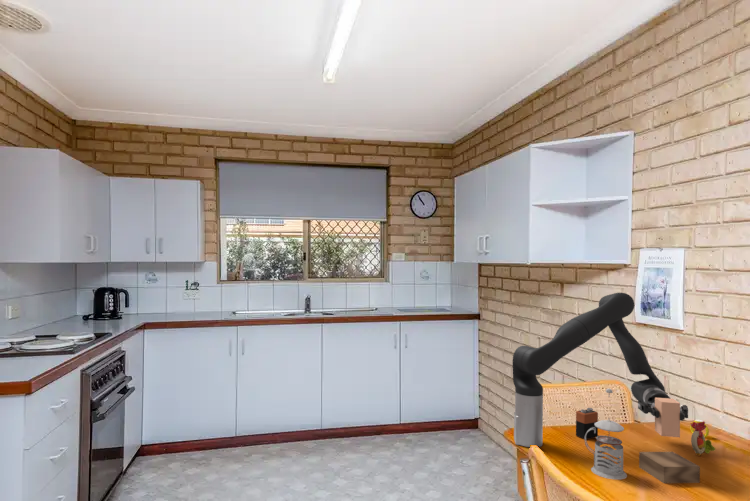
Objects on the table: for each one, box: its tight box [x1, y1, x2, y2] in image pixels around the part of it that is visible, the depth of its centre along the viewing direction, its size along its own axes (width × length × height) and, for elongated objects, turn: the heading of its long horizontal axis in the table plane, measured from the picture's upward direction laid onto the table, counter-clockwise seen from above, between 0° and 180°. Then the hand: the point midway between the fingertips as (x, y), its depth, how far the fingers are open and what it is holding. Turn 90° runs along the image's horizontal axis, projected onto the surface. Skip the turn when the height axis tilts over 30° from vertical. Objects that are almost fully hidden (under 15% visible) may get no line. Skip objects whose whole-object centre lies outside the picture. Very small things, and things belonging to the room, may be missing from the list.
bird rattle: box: [690, 420, 716, 456], centre depth 160 cm, size 6×11×9 cm
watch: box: [689, 419, 710, 438], centre depth 177 cm, size 6×3×6 cm, turn 25°
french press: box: [584, 388, 628, 481], centre depth 144 cm, size 10×12×25 cm
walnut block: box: [638, 451, 701, 484], centre depth 143 cm, size 11×11×5 cm
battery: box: [575, 407, 599, 440], centre depth 174 cm, size 4×7×10 cm, turn 115°
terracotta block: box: [654, 397, 681, 438], centre depth 144 cm, size 5×5×10 cm
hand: (669, 415), depth 142 cm, fingers closed on terracotta block, 5 cm apart
